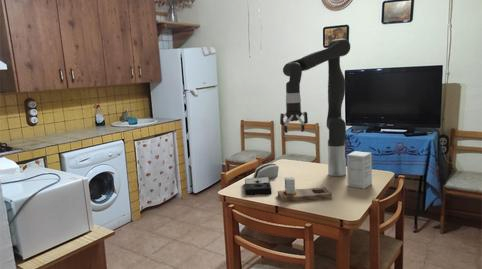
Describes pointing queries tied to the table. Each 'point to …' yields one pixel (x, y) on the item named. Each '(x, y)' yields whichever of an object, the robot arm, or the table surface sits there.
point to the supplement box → (359, 169)
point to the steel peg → (289, 186)
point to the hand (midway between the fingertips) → (294, 132)
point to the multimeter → (257, 186)
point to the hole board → (305, 195)
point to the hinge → (266, 171)
